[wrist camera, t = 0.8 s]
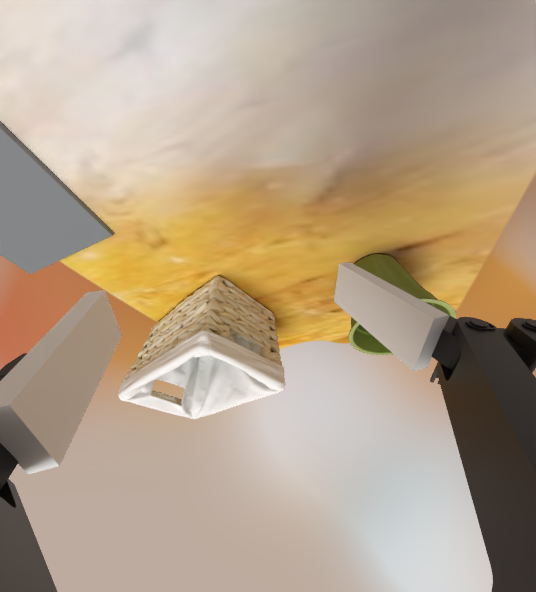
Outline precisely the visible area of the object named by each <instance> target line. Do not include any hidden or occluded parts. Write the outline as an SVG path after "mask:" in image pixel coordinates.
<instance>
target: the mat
mask: <svg viewBox="0 0 536 592" xmlns="http://www.w3.org/2000/svg"><path fill="white" fill-rule="evenodd" d="M113 234H114V232H113V231H112V230H111V229H110V228H108V227H107V226H106V225H105V224H104V223H103V222H102V221H101V220H100V219H99V218H98V217H97V216H96V215H95V214H94V213H93V212H92V211H91V210H90V209H89V208H88V207H87V206H86V205H85V204H84V203H83V202H82V201H81V200H80V199H79V198H78V197H77V196H76V195H75V194H74V193H73V192H72V191H71V190H70V189H69V188H68V187H67V186H66V185H65V184H63V183H62V182H61V181H60V180H59V179H58V178H57V177H56V176H55V175H54V174H53V173H52V172H51V171H50V170H49V169H48V168H47V167H46V166H45V165H44V164H43V163H42V162H41V161H40V160H39V159H38V158H37V157H36V156H35V155H34V154H33V153H32V152H31V151H30V150H29V149H28V148H27V147H26V146H25V145H24V144H23V143H22V142H21V141H20V140H18V139H17V138H16V137H15V136H14V135H13V134H12V133H11V132H10V131H9V130H8V129H7V128H6V127H5V126H4V125H3V124H2V123H1V122H0V255H1V256H3V257H4V258H6V259H8V260H9V261H11V262H12V263H14V264H15V265H17V266H18V267H20V268H21V269H23V270H25V271H26V272H28V273H29V274H31V273H33V272H36V271H38V270H40V269H42V268H44V267H46V266H48V265H51V264H52V263H55V262H57V261H59V260H61V259H63V258H65V257H68V256H70V255H72V254H74V253H76V252H78V251H80V250H82V249H85V248H87V247H89V246H91V245H93V244H95V243H97V242H99V241H102V240H104V239H106V238H108V237H110V236H112V235H113Z"/></svg>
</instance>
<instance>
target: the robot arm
mask: <svg viewBox="0 0 536 592" xmlns="http://www.w3.org/2000/svg"><path fill="white" fill-rule="evenodd" d="M334 302H335V303H336V304H337V305H339V306H340V307H341V308H342V309H343V310H344V311H345V312H346V313H348V314H349V315H350V316H351V317H352V318H353V319H354V320H356V321H357V322H358V323H359V324H360V325H361V326H362V327H364V328H365V329H366V330H367V331H368V332H369V333H370V334H371V335H373V336H374V337H375V338H376V339H377V340H378V341H379V342H381V343H382V344H383V345H384V346H385V347H386V348H387V349H389V350H390V351H391V352H392V353H393V354H394V355H395V356H396V357H398V358H399V359H400V360H401V361H402V362H403V363H404V364H406V365H407V366H408V367H409V368H410V369H411V370H412V371H416V370H420V369H424V368H427V367H428V364H429V362H430V360H431V357H433V358H435V359H436V360H437V361H438V363H437V366H436V368H435V370H434V372H433V374H432V377H431V380H430V381H431V382H434V380H435V378H439V381H438V384H440V385H441V389H442V392H443V396H444V399H445V403H446V406H447V410H448V414H449V417H450V421H451V424H452V428H453V431H454V435H455V438H456V442H457V446H458V449H459V453H460V457H461V460H462V464H463V467H464V471H465V475H466V478H467V482H468V485H469V489H470V493H471V496H472V500H473V503H474V507H475V510H476V514H477V518H478V521H479V525H480V528H481V532H482V535H483V539H484V543H485V546H486V550H487V554H488V557H489V561H490V564H491V569H492V574H493V587H492V592H536V378H535V376H534V375H533V374H532V372H533V371H534V370H535V368H536V320H532V319H523V318H514V319H512V320H511V321H510V323H509V325H508V326H507V328H506V329H504V328H496V327H495V326H494V325H492V324H490V323H488V322H485V321H483V320H480V319H476V318H471V317H460V318H459V319H455V318H454V317H452V316H450V315H448V314H446V313H444V312H442V311H440V310H439V309H437V308H435V307H433V306H431V305H429V304H427V303H425V302H424V301H422V300H420V299H418V298H416V297H414V296H412V295H410V294H409V293H407V292H405V291H403V290H401V289H399V288H397V287H395V286H394V285H392V284H390V283H388V282H386V281H384V280H382V279H380V278H379V277H377V276H375V275H373V274H371V273H369V272H367V271H365V270H364V269H362V268H360V267H358V266H356V265H354V264H352V263H350V262H347V263H339V269H338V276H337V283H336V290H335V297H334ZM121 336H122V333H121V331H120V328H119V326H118V323H117V321H116V318H115V316H114V313H113V310H112V308H111V305H110V303H109V300H108V298H107V295H106V292H105V290H103V291H95V292H87V293H86V294H85V295H84V296H83V297H82V298H81V299H80V300H79V301H78V302H77V303H76V304H75V305H74V306H73V307H72V308H71V309H70V310H69V311H68V312H67V313H66V314H65V315H64V317H62V318H61V320H60V321H59V322H58V323H57V324H56V325H55V326H54V327H53V328H52V329H51V330H50V331H49V332H48V333H47V334H46V335H45V336H44V337H43V338H42V339H41V340H40V341H39V342H38V343H37V344H36V345H35V346H34V347H33V348H32V349H31V350H30V351H29V352H28V353H25V354H22V355H21V356H19V357H18V358H16V359H14V360H13V361H11V362H10V363H8V364H7V365H5V366H4V367H3V368H2V369H1V370H0V592H57V590H56V587H55V585H54V582H53V580H52V577H51V575H50V572H49V570H48V567H47V565H46V562H45V560H44V557H43V555H42V552H41V550H40V547H39V545H38V542H37V540H36V537H35V535H34V532H33V530H32V527H31V525H30V522H29V520H28V517H27V515H26V512H25V510H24V507H23V505H22V502H21V500H20V497H19V495H18V492H17V490H16V487H15V485H14V484H13V483H12V482H11V481H10V480H9V479H8V478H9V476H10V475H11V473H12V472H13V470H14V468H15V467H16V465H17V464H19V465H20V466H21V467H22V468H23V469H24V470H25V471H26V472H27V473H28V474H31V473H35V472H39V471H43V470H47V469H50V468H54V467H58V466H60V464H61V462H62V460H63V458H64V456H65V454H66V451H67V449H68V447H69V445H70V443H71V441H72V439H73V437H74V435H75V433H76V431H77V428H78V426H79V424H80V422H81V420H82V418H83V416H84V414H85V412H86V410H87V408H88V405H89V403H90V401H91V399H92V397H93V395H94V393H95V391H96V389H97V387H98V385H99V382H100V380H101V378H102V376H103V374H104V372H105V370H106V368H107V365H108V364H109V362H110V359H111V357H112V355H113V353H114V351H115V349H116V347H117V345H118V343H119V340H120V338H121Z"/></svg>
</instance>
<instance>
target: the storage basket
mask: <svg viewBox="0 0 536 592" xmlns="http://www.w3.org/2000/svg"><path fill="white" fill-rule="evenodd" d="M151 328H152V331H151V332H150V334H149V336H148V338H147V340H146V341H145V343H144V345H143V348H142V350H141V351H140V352H139V354H138V358H137V359H136V361H135V363H134V364H133V366H132V367H131V370H130V371H129V372H128V374H127V376H126V378H125V381H123V382H122V385H121V387H120V391H119V393H118V396H119V398H120V400H122V401H129V402H132V403H135V404H138V405H142V406H145V407H149V408H152V409H156V410H160V411H164V412H168V413H171V414H175V415H178V416H184V417H188V418H192V419H198V418H200V417H203V416H207V415H210V414H214V413H217V412H220V411H223V410H226V409H228V408H231V407H234V406H237V405H240V404H243V403H246V402H249V401H253V400H256V399H259V398H263V397H265V396H269V395H272V394H275V393H279V392H281V391H282V390H284V388H285V380H284V368H283V366H282V362H281V361H280V354H279V344H278V342H277V341H278V337H277V332H276V327H275V317H274V315H273V313H272V312H271V311H269V310H268V309H267V308H264V306H262V305H261V304H260V303H258V302H257V301H255V300H254V299H253V298H252V297H250V296H249V295H247V294H246V293H245V292H243V291H242V290H241V289H239V288H238V287H236V286H234V284H233V283H231V282H230V281H228V280H226V279H224V278H223V277H221V276H216V277H214V278H213V279H212V280H211V281H209V282H208V283H206V284H205V285H204V286H203V287H202V288H200V289H198V290H197V291H196V292H195V293H194V294H193V295H191V296H189V297H187V298H186V299H185V300H184V301H183V302H181V303H180V304H178V305H177V306H176V308H175V309H174V310H172V311H171V312H170V313H169V314H168V315H166V316H165V317H164V318H163V319H162V320H161V321H159V322H158V323H157V324H156V325H155V326H154V327H151ZM156 379H158V380H161V381H165V382H168V383H171V384H175V385H177V386H181V387H182V388H184V393H183V396H182V399H178V398H176V397H175V398H174V397H173V396H169V395H166V394H162V393H161V392H156V391H152V388H153V384H154V381H155V380H156Z"/></svg>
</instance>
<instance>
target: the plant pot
mask: <svg viewBox="0 0 536 592" xmlns="http://www.w3.org/2000/svg"><path fill="white" fill-rule="evenodd" d="M354 265H356V266H358V267H360V268H362V269H364V270H365V271H367V272H369V273H371V274H373V275H375V276H377V277H379V278H380V279H382V280H384V281H386V282H388V283H390V284H392V285H394V286H395V287H397V288H399V289H401V290H403V291H405V292H407V293H409V294H410V295H412V296H414V297H416V298H418V299H420V300H422V301H424V302H425V303H427V304H429V305H431V306H433V307H435V308H437V309H439V310H440V311H442V312H444V313H446V314H448V315H450V316H452V317H454V318H455V319H456V313H455V310H454V309H453V308H452V307H451V306H450V305H449V304H447V303H446V302H443V301H441V300H438V299H437V298H435V297H434V296H433V295H432V294H431V293H430V292H428V291H426V290H425V289H424V288H423V287H422V286H421V285H420V284H419V283H418V282H417V281H416V280H415V279H414V278H413V277H412V276H411V275H410V274H409V273H408V272H407V271H406V270H405V269H404V268H403V267H402V266H401V265H400V264H399V263H398V262H397V261H396V260H395V259H394V258H393V257H391V256H389V255H380V254H374V255H370V256H367V257H364V258H362V259H361V260H359V261H358V262H356V263H355V264H354ZM349 342H350V344H351V345H352V346H353V347H354V348H355V349H356V350H359V351H361V352H363V353H367V354H374V355H393V353H392V352H391V351H390V350H389V349H387V348H386V347H385V346H384V345H383V344H382V343H381V342H379V341H378V340H377V339H376V338H375V337H374V336H373V335H371V334H370V333H369V332H368V331H367V330H366V329H365V328H364V327H362V326H361V325H360V324H359V323H358V322H357V321H356V320H354V319H353V318H352V317H351V330H350V333H349Z"/></svg>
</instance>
